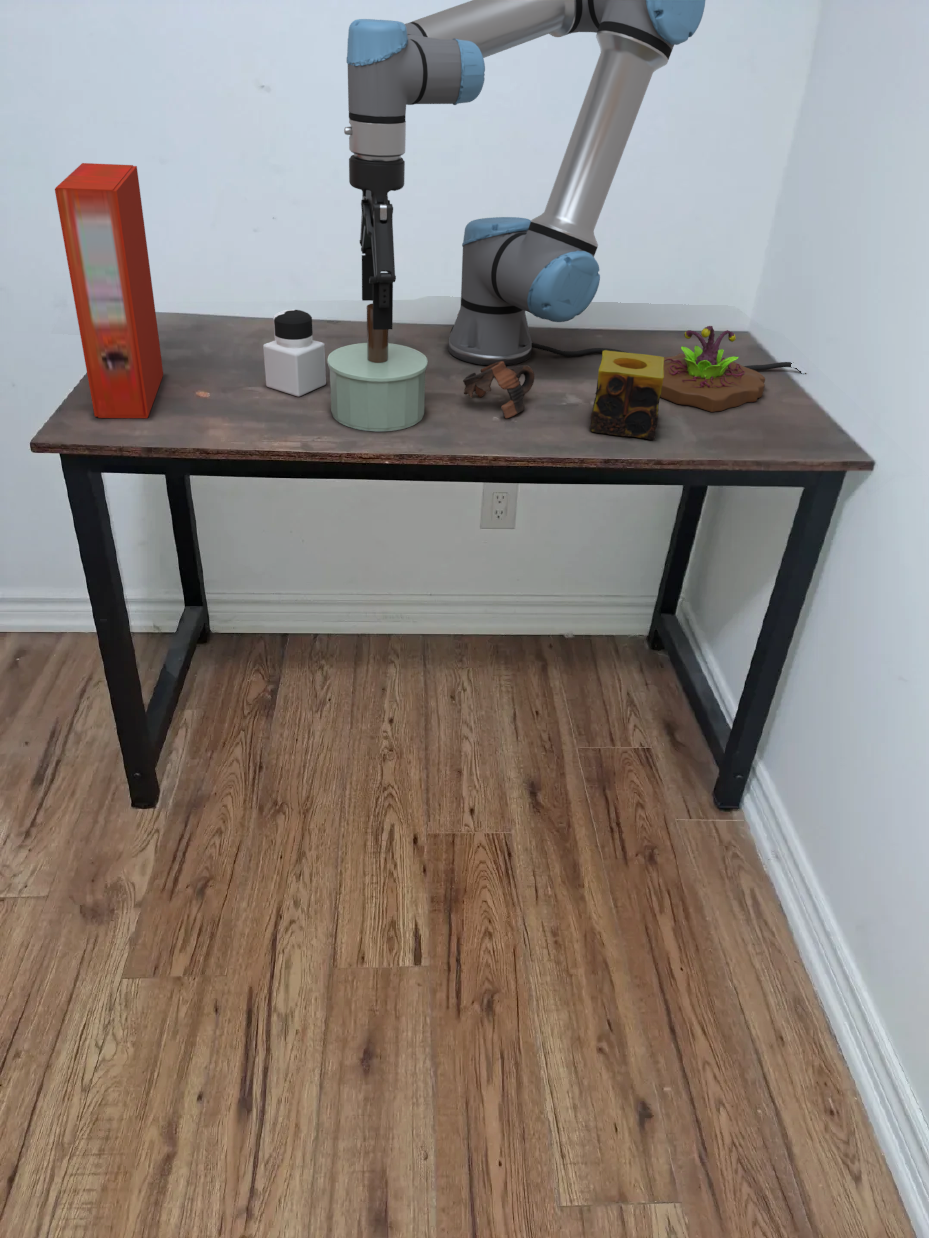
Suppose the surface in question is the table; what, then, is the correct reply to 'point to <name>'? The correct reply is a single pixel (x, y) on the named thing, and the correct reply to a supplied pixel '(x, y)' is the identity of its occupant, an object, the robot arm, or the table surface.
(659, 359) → the yellow brown holed block
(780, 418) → the table surface
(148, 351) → the file binder
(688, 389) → the plant
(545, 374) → the table surface
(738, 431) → the table surface
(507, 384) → the brown grey curved piece
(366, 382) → the basin
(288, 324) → the medicine bottle
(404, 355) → the basin lid
